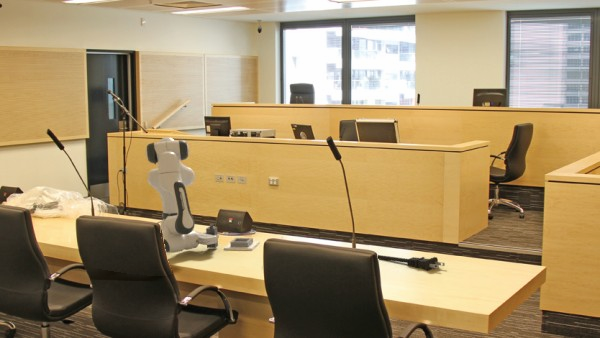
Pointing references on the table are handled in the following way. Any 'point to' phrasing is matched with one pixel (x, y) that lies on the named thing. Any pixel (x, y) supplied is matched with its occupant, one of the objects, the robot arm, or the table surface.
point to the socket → (241, 244)
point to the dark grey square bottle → (212, 231)
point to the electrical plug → (416, 262)
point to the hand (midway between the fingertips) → (213, 235)
